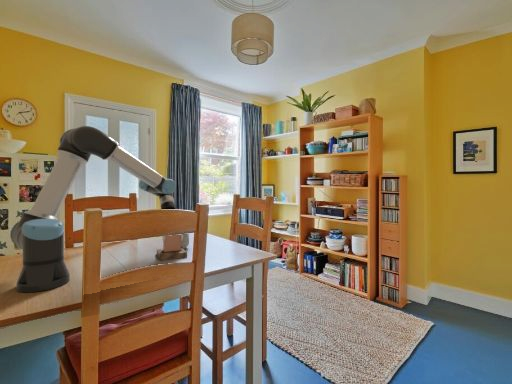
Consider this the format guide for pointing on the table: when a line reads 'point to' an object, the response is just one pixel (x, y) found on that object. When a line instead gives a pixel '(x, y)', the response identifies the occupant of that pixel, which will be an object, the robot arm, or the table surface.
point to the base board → (171, 254)
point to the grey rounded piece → (185, 241)
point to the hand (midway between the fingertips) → (173, 239)
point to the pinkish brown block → (172, 243)
